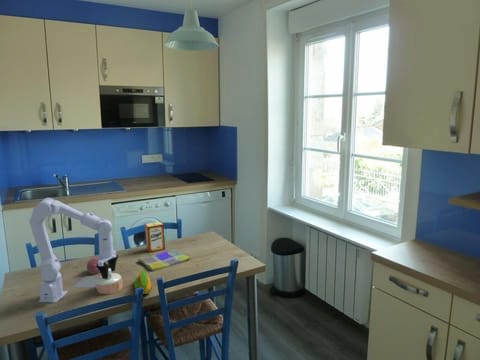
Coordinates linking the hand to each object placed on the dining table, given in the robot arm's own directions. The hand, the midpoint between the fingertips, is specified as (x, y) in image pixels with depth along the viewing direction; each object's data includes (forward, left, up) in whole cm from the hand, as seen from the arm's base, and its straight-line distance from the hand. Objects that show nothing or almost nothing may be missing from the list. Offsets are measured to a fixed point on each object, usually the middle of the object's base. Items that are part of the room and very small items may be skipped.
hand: (108, 274), depth 165 cm
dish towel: (+33, -16, -8) cm, 38 cm away
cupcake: (+20, +18, -5) cm, 27 cm away
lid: (0, 0, -3) cm, 3 cm away
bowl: (0, 0, -7) cm, 7 cm away
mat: (+6, +12, -7) cm, 15 cm away
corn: (+2, -15, -7) cm, 17 cm away
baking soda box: (+50, -6, -7) cm, 51 cm away
